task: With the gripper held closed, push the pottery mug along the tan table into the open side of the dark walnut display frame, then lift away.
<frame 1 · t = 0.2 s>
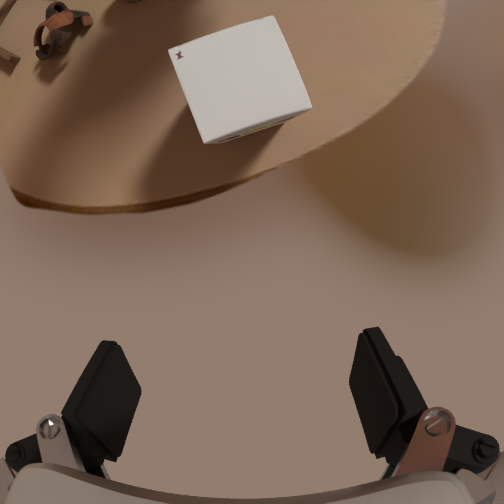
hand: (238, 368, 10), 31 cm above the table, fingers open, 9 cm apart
display frame: (23, 16, 21), on the table
pottery mug: (70, 31, 26), on the table
supplement box: (243, 102, 33), on the table
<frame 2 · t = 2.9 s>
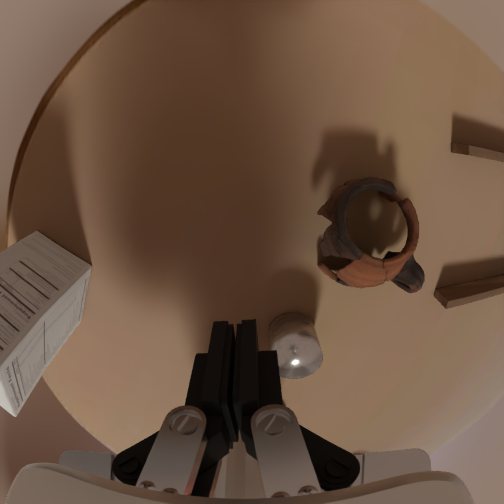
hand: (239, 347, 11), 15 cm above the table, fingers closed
display frame: (492, 223, 24), on the table
pottery mug: (360, 234, 25), on the table
grey tin: (291, 330, 29), on the table
supplement box: (58, 277, 27), on the table
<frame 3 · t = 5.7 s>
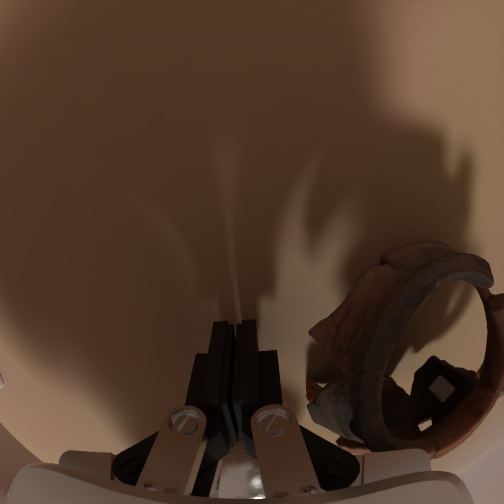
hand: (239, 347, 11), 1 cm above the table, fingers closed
pottery mug: (390, 331, 12), on the table
grey tin: (257, 441, 16), on the table
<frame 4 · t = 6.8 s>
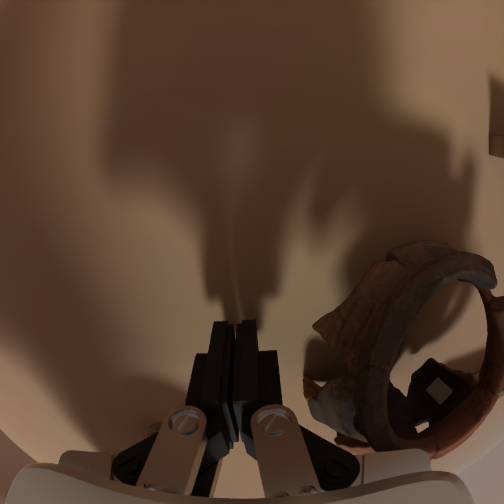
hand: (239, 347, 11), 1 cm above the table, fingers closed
pottery mug: (389, 331, 12), on the table, touching gripper
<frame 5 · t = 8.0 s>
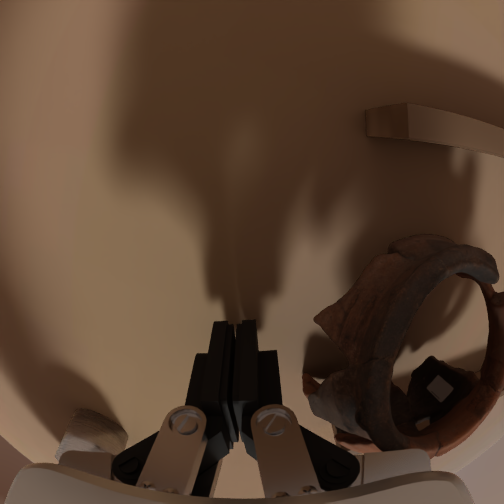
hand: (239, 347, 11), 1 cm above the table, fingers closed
display frame: (483, 295, 12), on the table
pottery mug: (390, 328, 12), on the table, touching gripper
grey tin: (100, 426, 17), on the table
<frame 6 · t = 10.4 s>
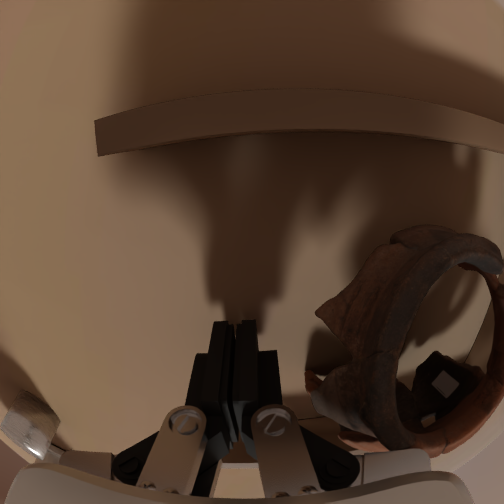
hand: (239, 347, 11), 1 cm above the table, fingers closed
display frame: (373, 318, 12), on the table
pottery mug: (393, 323, 12), on the table, touching gripper
grey tin: (39, 407, 17), on the table
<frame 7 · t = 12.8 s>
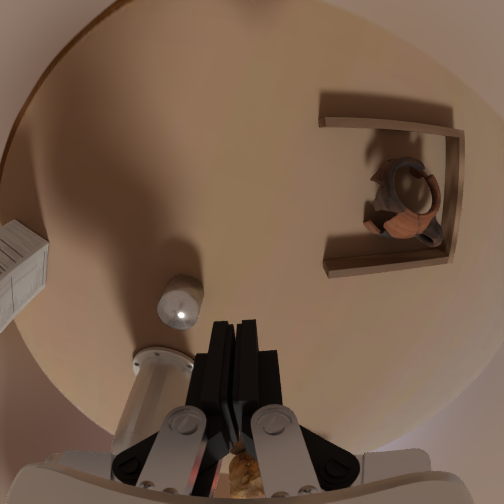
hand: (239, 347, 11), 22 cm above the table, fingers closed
display frame: (391, 194, 30), on the table
pottery mug: (394, 202, 31), on the table
grey tin: (185, 291, 36), on the table
supplement box: (29, 252, 34), on the table
rough brown rock: (279, 451, 56), on the table
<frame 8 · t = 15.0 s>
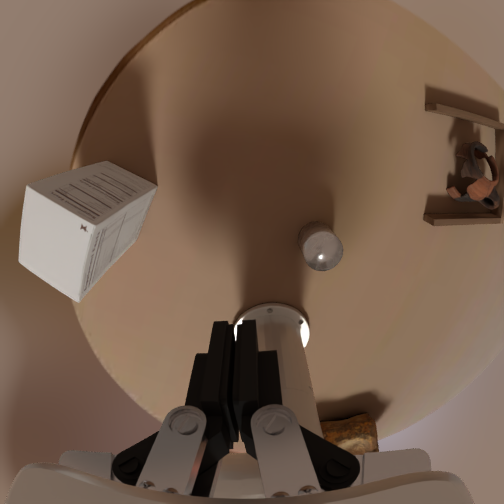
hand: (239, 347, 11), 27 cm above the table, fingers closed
display frame: (465, 166, 33), on the table
pottery mug: (464, 176, 34), on the table
grey tin: (315, 238, 38), on the table
supplement box: (120, 201, 36), on the table
rough brown rock: (344, 423, 58), on the table
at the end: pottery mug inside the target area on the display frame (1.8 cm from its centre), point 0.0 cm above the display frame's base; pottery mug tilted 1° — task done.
